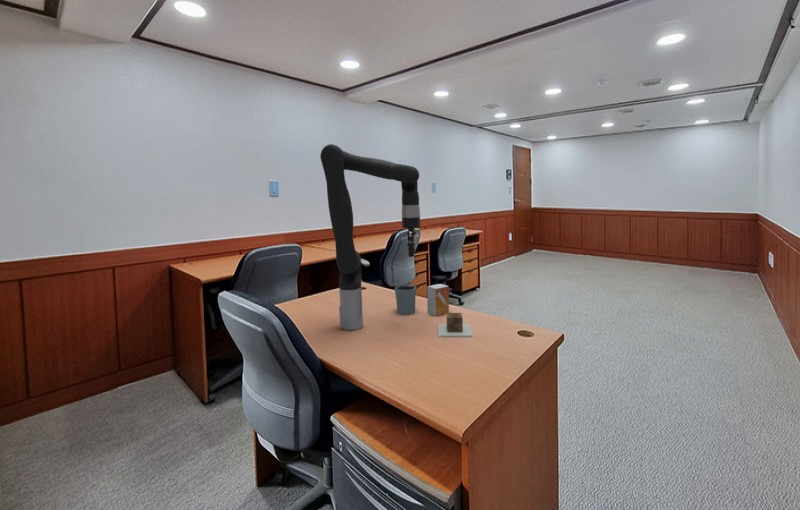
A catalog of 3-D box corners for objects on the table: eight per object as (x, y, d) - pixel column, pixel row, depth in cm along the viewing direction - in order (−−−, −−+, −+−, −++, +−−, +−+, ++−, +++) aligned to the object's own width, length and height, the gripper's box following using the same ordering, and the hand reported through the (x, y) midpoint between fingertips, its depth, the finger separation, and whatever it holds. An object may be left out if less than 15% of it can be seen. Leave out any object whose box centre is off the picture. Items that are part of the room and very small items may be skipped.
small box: (435, 316, 172) (435, 288, 170) (427, 313, 177) (426, 286, 175) (449, 313, 176) (449, 285, 174) (440, 309, 182) (440, 283, 180)
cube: (447, 332, 151) (447, 317, 150) (446, 326, 157) (446, 312, 156) (462, 332, 151) (462, 317, 150) (461, 326, 156) (461, 312, 155)
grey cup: (402, 316, 173) (401, 291, 172) (391, 311, 182) (390, 286, 180) (420, 312, 178) (420, 287, 177) (409, 307, 187) (408, 283, 185)
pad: (438, 336, 148) (438, 335, 148) (438, 325, 161) (437, 324, 161) (472, 336, 147) (472, 335, 147) (468, 325, 160) (468, 323, 160)
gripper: (402, 215, 164) (404, 252, 166) (400, 217, 150) (401, 257, 152) (420, 214, 163) (421, 252, 166) (419, 217, 149) (420, 257, 152)
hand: (411, 254), depth 159 cm, fingers open, 8 cm apart
